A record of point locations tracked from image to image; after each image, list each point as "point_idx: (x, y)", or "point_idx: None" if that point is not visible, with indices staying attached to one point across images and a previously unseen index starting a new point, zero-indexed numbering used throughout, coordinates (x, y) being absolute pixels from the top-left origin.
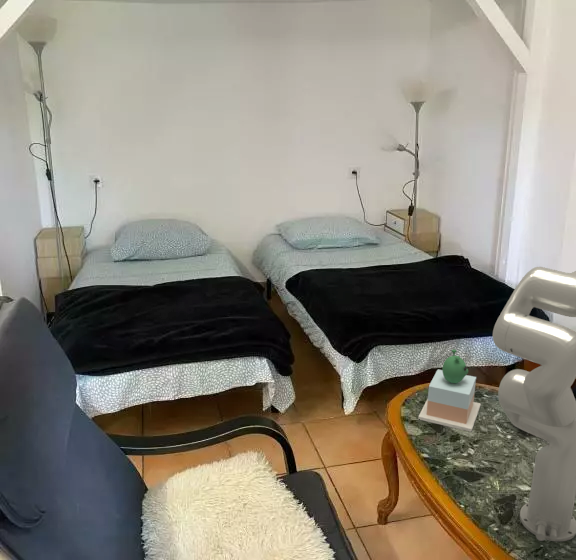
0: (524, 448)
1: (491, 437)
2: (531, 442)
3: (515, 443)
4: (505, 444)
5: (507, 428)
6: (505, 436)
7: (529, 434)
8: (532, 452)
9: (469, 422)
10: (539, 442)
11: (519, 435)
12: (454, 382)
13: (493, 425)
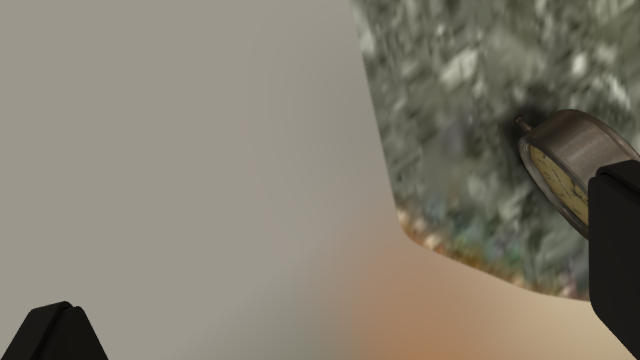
0: (517, 25)
1: (633, 17)
2: (502, 79)
3: (551, 36)
4: (582, 6)
5: (589, 111)
6: (589, 57)
7: (518, 117)
8: (488, 19)
9: None
10: (478, 97)
11: (546, 95)
12: None
13: (636, 98)
